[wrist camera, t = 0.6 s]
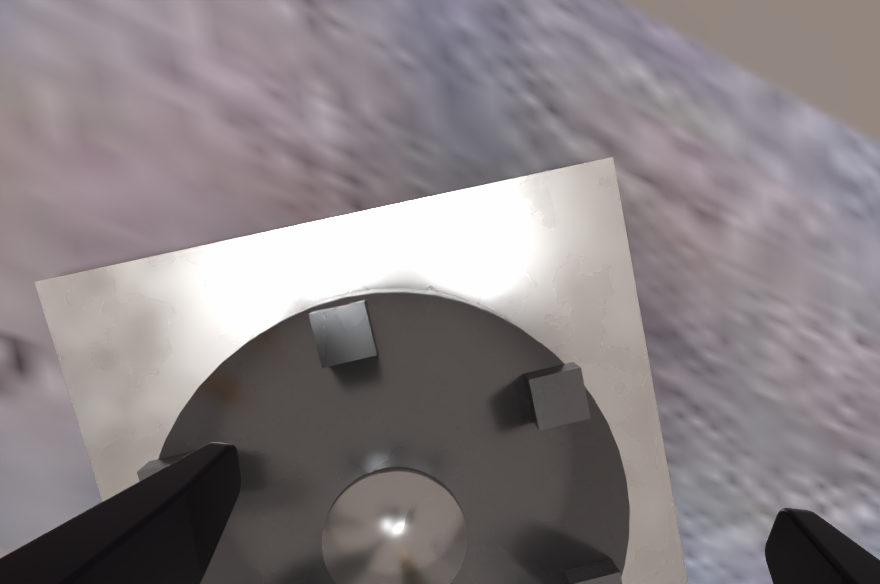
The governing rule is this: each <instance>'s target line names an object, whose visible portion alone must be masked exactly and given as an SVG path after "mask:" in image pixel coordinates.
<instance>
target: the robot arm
mask: <svg viewBox="0 0 880 584" xmlns="http://www.w3.org/2000/svg"><path fill="white" fill-rule="evenodd" d="M241 486H242V478H241V471H240V464H239V457H238V451H237V448H236V446H235V445H233V444H230V443H221V442H211V443H208V444H206V445H204V446H203V447H201V448H199V449H197V450H195V451H194V452H192V453H190V454H188V455H186V456H185V457H183V458H181V459H179V460H177V461H176V462H174V463H172V464H170V465H168V466H167V467H165V468H163V469H161V470H159V471H158V472H156V473H154V474H152V475H150V476H148V477H147V478H145V479H143V480H141V481H139V482H138V483H136V484H134V485H132V486H130V487H129V488H127V489H125V490H123V491H121V492H120V493H118V494H116V495H114V496H112V497H111V498H109V499H107V500H105V501H103V502H102V503H100V504H98V505H96V506H94V507H93V508H91V509H89V510H87V511H85V512H84V513H82V514H80V515H78V516H76V517H74V518H73V519H71V520H69V521H67V522H65V523H64V524H62V525H60V526H58V527H56V528H55V529H53V530H51V531H49V532H47V533H46V534H44V535H42V536H40V537H38V538H37V539H35V540H33V541H31V542H29V543H27V544H26V545H24V546H22V547H20V548H18V549H17V550H15V551H13V552H11V553H9V554H8V555H6V556H4V557H2V558H0V584H200V583H201V581H202V579H203V577H204V575H205V573H206V570H207V568H208V566H209V564H210V562H211V559H212V557H213V555H214V552H215V550H216V548H217V545H218V543H219V541H220V538H221V536H222V534H223V531H224V529H225V527H226V524H227V522H228V520H229V518H230V515H231V513H232V511H233V508H234V506H235V504H236V501H237V499H238V497H239V494H240V491H241ZM765 556H766V562H767V565H768V568H769V571H770V574H771V578H772V581H773V584H880V560H879V559H877V558H876V557H875V556H873V555H872V554H870V553H869V552H868V551H866V550H865V549H864V548H862V547H861V546H859V545H858V544H857V543H855V542H854V541H853V540H851V539H850V538H848V537H847V536H846V535H844V534H843V533H841V532H840V531H839V530H837V529H836V528H835V527H833V526H832V525H830V524H829V523H828V522H826V521H825V520H824V519H822V518H821V517H819V516H818V515H817V514H815V513H814V512H811V511H808V510H801V509H792V508H784V509H781V510H780V511H779V512H778V514H777V517H776V519H775V522H774V524H773V527H772V530H771V532H770V535H769V537H768V540H767V543H766V547H765Z"/></svg>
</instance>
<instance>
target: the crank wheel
mask: <svg viewBox="0 0 880 584" xmlns="http://www.w3.org/2000/svg"><path fill="white" fill-rule="evenodd" d="M211 442H221V443H230V444H233V445H235V446H236V448H237V451H238V457H239V464H240V471H241V478H242V486H241V491H240V494H239V497H238V499H237V501H236V504H235V506H234V508H233V511H232V513H231V515H230V518H229V520H228V522H227V524H226V527H225V529H224V531H223V534H222V536H221V538H220V541H219V543H218V545H217V548H216V550H215V552H214V555H213V557H212V559H211V562H210V564H209V566H208V568H207V570H206V573H205V575H204V577H203V579H202V581H201V583H200V584H622V579H621V577H622V573H623V570H624V566H625V561H626V554H627V548H628V541H629V520H630V505H629V497H628V488H627V480H626V475H625V471H624V467H623V463H622V460H621V456H620V452H619V449H618V446H617V444H616V441H615V439H614V436H613V434H612V432H611V429H610V427H609V424H608V422H607V420H606V419H605V417H604V415H603V414H602V412H601V410H600V408H599V407H598V405H597V403H596V401H595V400H594V398H593V396H592V395H591V394H590V393H589V391H588V390H587V389H586V388H585V386H584V381H583V375H582V370H581V367H580V366H578V365H577V364H575V363H574V362H571V363H566V364H564V363H563V362H562V361H561V360H560V359H559V358H558V357H557V356H556V355H555V354H554V353H553V352H552V351H551V350H549V349H548V348H546V347H545V346H544V345H542V344H541V343H540V342H538V341H537V340H536V339H534V338H533V337H532V336H530V335H529V334H528V333H526V332H525V331H524V330H522V329H521V328H519V327H518V326H517V325H515V324H514V323H513V322H511V321H510V320H508V319H506V318H505V317H503V316H501V315H499V314H497V313H496V312H494V311H492V310H490V309H488V308H486V307H484V306H481V305H479V304H476V303H474V302H471V301H468V300H466V299H463V298H461V297H457V296H453V295H449V294H444V293H440V292H436V291H431V290H421V289H412V288H377V289H370V290H364V291H357V292H351V293H346V294H343V295H340V296H336V297H333V298H329V299H326V300H322V301H320V302H317V303H315V304H313V305H311V306H308V307H306V308H304V309H302V310H299V311H297V312H295V313H293V314H291V315H290V316H288V317H287V318H285V319H283V320H282V321H280V322H278V323H277V324H275V325H273V326H272V327H270V328H269V329H267V330H265V331H264V332H262V333H261V334H259V335H258V336H256V337H254V338H253V339H251V340H250V341H248V342H247V343H246V344H244V345H243V346H242V347H241V348H239V349H238V350H237V351H236V352H234V353H233V354H232V355H231V356H229V357H228V358H227V359H226V360H224V361H223V362H222V363H221V364H220V365H219V366H218V367H217V368H216V369H215V370H214V371H213V372H212V373H211V374H210V375H209V376H208V378H207V379H206V380H205V381H204V382H203V383H202V384H201V385H200V386H199V387H198V388H197V390H196V391H195V393H194V394H193V395H192V397H191V398H190V400H189V401H188V402H187V404H186V405H185V406H184V408H183V409H182V411H181V412H180V413H179V415H178V417H177V419H176V421H175V423H174V425H173V427H172V429H171V430H170V432H169V434H168V436H167V438H166V440H165V442H164V444H163V447H162V450H161V453H160V455H159V458H158V459H157V460H153V461H149V462H148V463H147V464H145V465H144V466H143V467H142V468H141V469H140V470H138V471H137V475H138V478H139V481H141V480H143V479H145V478H147V477H148V476H150V475H152V474H154V473H156V472H158V471H159V470H161V469H163V468H165V467H167V466H168V465H170V464H172V463H174V462H176V461H177V460H179V459H181V458H183V457H185V456H186V455H188V454H190V453H192V452H194V451H195V450H197V449H199V448H201V447H203V446H204V445H206V444H208V443H211Z"/></svg>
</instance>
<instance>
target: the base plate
mask: <svg viewBox="0 0 880 584" xmlns="http://www.w3.org/2000/svg"><path fill="white" fill-rule="evenodd" d="M35 285H36V288H37V291H38V294H39V298H40V301H41V304H42V307H43V311H44V314H45V317H46V320H47V324H48V327H49V330H50V333H51V337H52V340H53V343H54V346H55V350H56V353H57V356H58V359H59V362H60V366H61V369H62V372H63V375H64V379H65V382H66V385H67V388H68V392H69V395H70V398H71V401H72V405H73V408H74V411H75V414H76V418H77V421H78V424H79V427H80V430H81V434H82V437H83V440H84V443H85V447H86V450H87V453H88V456H89V460H90V463H91V466H92V469H93V473H94V476H95V479H96V482H97V486H98V489H99V492H100V495H101V498H102V502H103V501H105V500H107V499H109V498H111V497H112V496H114V495H116V494H118V493H120V492H121V491H123V490H125V489H127V488H129V487H130V486H132V485H134V484H136V483H138V482H139V478H138V475H137V471H138V470H140V469H141V468H142V467H143V466H144V465H145V464H147V463H148V462H149V461H153V460H157V459H158V458H159V455H160V453H161V450H162V447H163V444H164V442H165V440H166V438H167V436H168V434H169V432H170V430H171V429H172V427H173V425H174V423H175V421H176V419H177V417H178V415H179V413H180V412H181V411H182V409H183V408H184V406H185V405H186V404H187V402H188V401H189V400H190V398H191V397H192V395H193V394H194V393H195V391H196V390H197V388H198V387H199V386H200V385H201V384H202V383H203V382H204V381H205V380H206V379H207V378H208V376H209V375H210V374H211V373H212V372H213V371H214V370H215V369H216V368H217V367H218V366H219V365H220V364H221V363H222V362H223V361H224V360H226V359H227V358H228V357H229V356H231V355H232V354H233V353H234V352H236V351H237V350H238V349H239V348H241V347H242V346H243V345H244V344H246V343H247V342H248V341H250V340H251V339H253V338H254V337H256V336H258V335H259V334H261V333H262V332H264V331H265V330H267V329H269V328H270V327H272V326H273V325H275V324H277V323H278V322H280V321H282V320H283V319H285V318H287V317H288V316H290V315H291V314H293V313H295V312H297V311H299V310H302V309H304V308H306V307H308V306H311V305H313V304H315V303H317V302H320V301H322V300H326V299H329V298H333V297H336V296H340V295H343V294H346V293H351V292H357V291H364V290H370V289H377V288H412V289H421V290H431V291H436V292H440V293H444V294H449V295H453V296H457V297H461V298H463V299H466V300H468V301H471V302H474V303H476V304H479V305H481V306H484V307H486V308H488V309H490V310H492V311H494V312H496V313H497V314H499V315H501V316H503V317H505V318H506V319H508V320H510V321H511V322H513V323H514V324H515V325H517V326H518V327H519V328H521V329H522V330H524V331H525V332H526V333H528V334H529V335H530V336H532V337H533V338H534V339H536V340H537V341H538V342H540V343H541V344H542V345H544V346H545V347H546V348H548V349H549V350H551V351H552V352H553V353H554V354H555V355H556V356H557V357H558V358H559V359H560V360H561V361H562V362H563V363H564V364H566V363H571V362H574V363H575V364H577V365H578V366H580V367H581V370H582V375H583V381H584V386H585V388H586V389H587V390H588V391H589V393H590V394H591V395H592V396H593V398H594V400H595V401H596V403H597V405H598V407H599V408H600V410H601V412H602V414H603V415H604V417H605V419H606V420H607V422H608V424H609V427H610V429H611V432H612V434H613V436H614V439H615V441H616V444H617V446H618V449H619V452H620V456H621V460H622V463H623V467H624V471H625V475H626V480H627V488H628V497H629V505H630V520H629V541H628V548H627V554H626V561H625V566H624V570H623V573H622V577H621V579H622V584H688V580H687V575H686V569H685V563H684V557H683V552H682V546H681V540H680V535H679V529H678V523H677V518H676V512H675V506H674V501H673V495H672V489H671V484H670V478H669V472H668V467H667V461H666V455H665V450H664V444H663V438H662V432H661V427H660V421H659V415H658V410H657V404H656V398H655V393H654V387H653V381H652V376H651V370H650V364H649V359H648V353H647V347H646V342H645V336H644V330H643V325H642V319H641V313H640V308H639V302H638V296H637V290H636V285H635V279H634V273H633V268H632V262H631V256H630V251H629V245H628V239H627V234H626V228H625V222H624V217H623V211H622V205H621V200H620V194H619V188H618V183H617V177H616V171H615V165H614V160H613V157H611V158H606V159H601V160H597V161H592V162H587V163H583V164H578V165H574V166H569V167H564V168H560V169H555V170H550V171H546V172H541V173H537V174H532V175H527V176H523V177H518V178H513V179H509V180H504V181H500V182H495V183H490V184H486V185H481V186H476V187H472V188H467V189H462V190H458V191H453V192H449V193H444V194H439V195H435V196H430V197H425V198H421V199H416V200H412V201H407V202H402V203H398V204H393V205H388V206H384V207H379V208H374V209H370V210H365V211H361V212H356V213H351V214H347V215H342V216H337V217H333V218H328V219H324V220H319V221H314V222H310V223H305V224H300V225H296V226H291V227H287V228H282V229H277V230H273V231H268V232H263V233H259V234H254V235H249V236H245V237H240V238H236V239H231V240H226V241H222V242H217V243H212V244H208V245H203V246H199V247H194V248H189V249H185V250H180V251H175V252H171V253H166V254H162V255H157V256H152V257H148V258H143V259H138V260H134V261H129V262H124V263H120V264H115V265H111V266H106V267H101V268H97V269H92V270H87V271H83V272H78V273H74V274H69V275H64V276H60V277H55V278H50V279H46V280H41V281H37V282H35Z"/></svg>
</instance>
